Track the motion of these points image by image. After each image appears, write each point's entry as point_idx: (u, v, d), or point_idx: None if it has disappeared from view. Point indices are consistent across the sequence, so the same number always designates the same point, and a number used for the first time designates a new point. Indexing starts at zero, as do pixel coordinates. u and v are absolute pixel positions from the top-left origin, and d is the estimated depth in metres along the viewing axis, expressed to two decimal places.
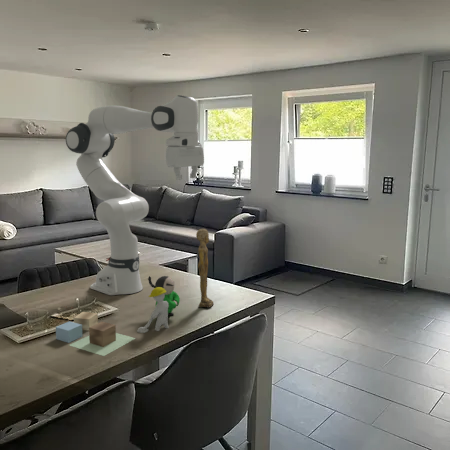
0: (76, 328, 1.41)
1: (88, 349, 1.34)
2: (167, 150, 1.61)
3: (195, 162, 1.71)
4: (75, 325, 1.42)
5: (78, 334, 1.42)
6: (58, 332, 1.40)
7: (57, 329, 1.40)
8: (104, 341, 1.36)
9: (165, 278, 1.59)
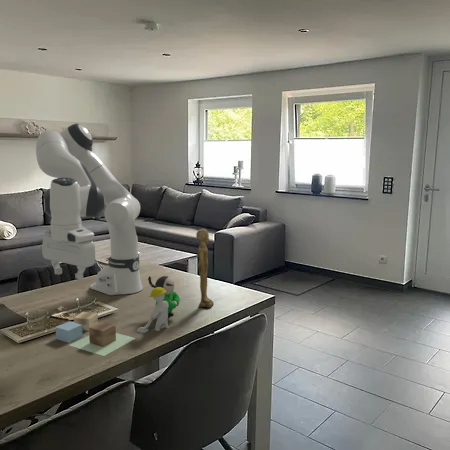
0: (76, 328, 1.41)
1: (88, 349, 1.34)
2: (84, 248, 1.32)
3: None
4: (75, 325, 1.42)
5: (78, 335, 1.42)
6: (58, 332, 1.40)
7: (57, 329, 1.40)
8: (104, 341, 1.36)
9: (165, 278, 1.59)
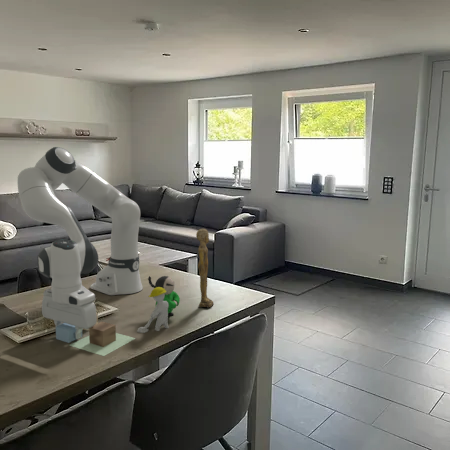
0: None
1: (88, 349, 1.34)
2: (86, 310, 1.34)
3: None
4: None
5: None
6: (58, 332, 1.40)
7: (57, 329, 1.40)
8: (104, 341, 1.36)
9: (165, 278, 1.59)
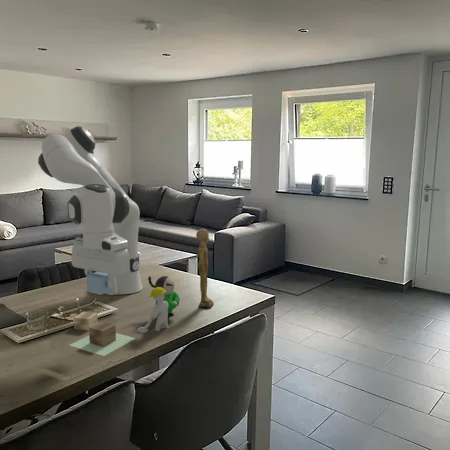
0: None
1: (88, 349, 1.34)
2: (119, 256, 1.29)
3: None
4: (106, 274, 1.36)
5: None
6: (89, 280, 1.35)
7: (88, 277, 1.35)
8: (104, 341, 1.36)
9: (165, 278, 1.59)
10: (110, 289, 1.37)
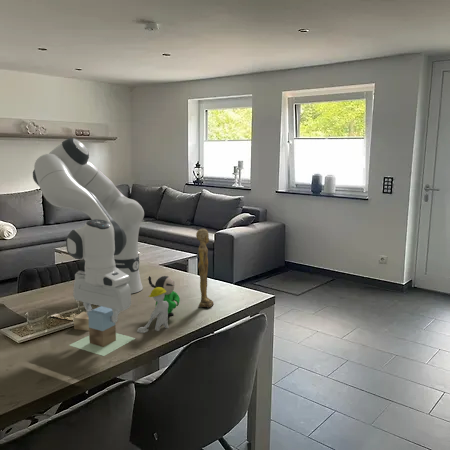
0: (109, 313, 1.37)
1: (88, 349, 1.34)
2: (121, 292, 1.31)
3: None
4: (108, 310, 1.38)
5: None
6: (91, 317, 1.37)
7: (90, 314, 1.37)
8: (104, 341, 1.36)
9: (165, 278, 1.59)
10: (112, 325, 1.39)
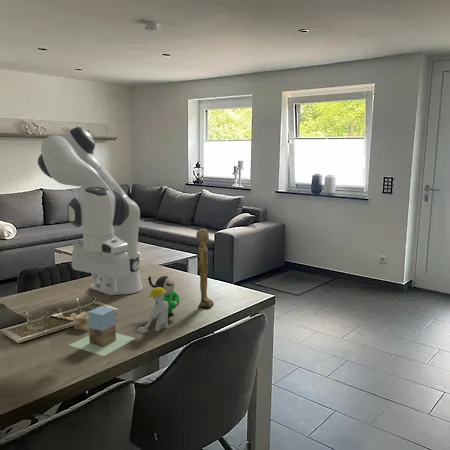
0: (109, 313, 1.37)
1: (88, 349, 1.34)
2: (120, 259, 1.29)
3: None
4: (108, 310, 1.38)
5: (111, 319, 1.38)
6: (91, 317, 1.37)
7: (90, 314, 1.37)
8: (104, 341, 1.36)
9: (165, 278, 1.59)
10: (112, 325, 1.39)
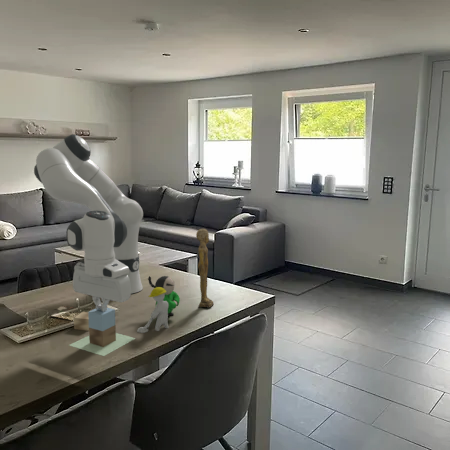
0: (109, 313, 1.37)
1: (88, 349, 1.34)
2: (120, 283, 1.30)
3: None
4: (108, 310, 1.38)
5: (111, 319, 1.38)
6: (91, 317, 1.37)
7: (90, 314, 1.37)
8: (104, 341, 1.36)
9: (165, 278, 1.59)
10: (112, 325, 1.39)
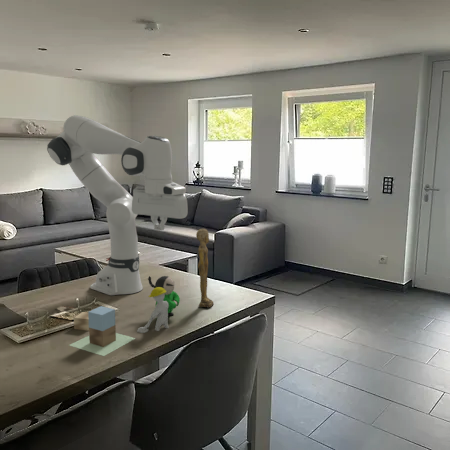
0: (109, 313, 1.37)
1: (88, 349, 1.34)
2: (180, 200, 1.42)
3: None
4: (108, 310, 1.38)
5: (111, 319, 1.38)
6: (91, 317, 1.37)
7: (90, 314, 1.37)
8: (104, 341, 1.36)
9: (165, 278, 1.59)
10: (112, 325, 1.39)
